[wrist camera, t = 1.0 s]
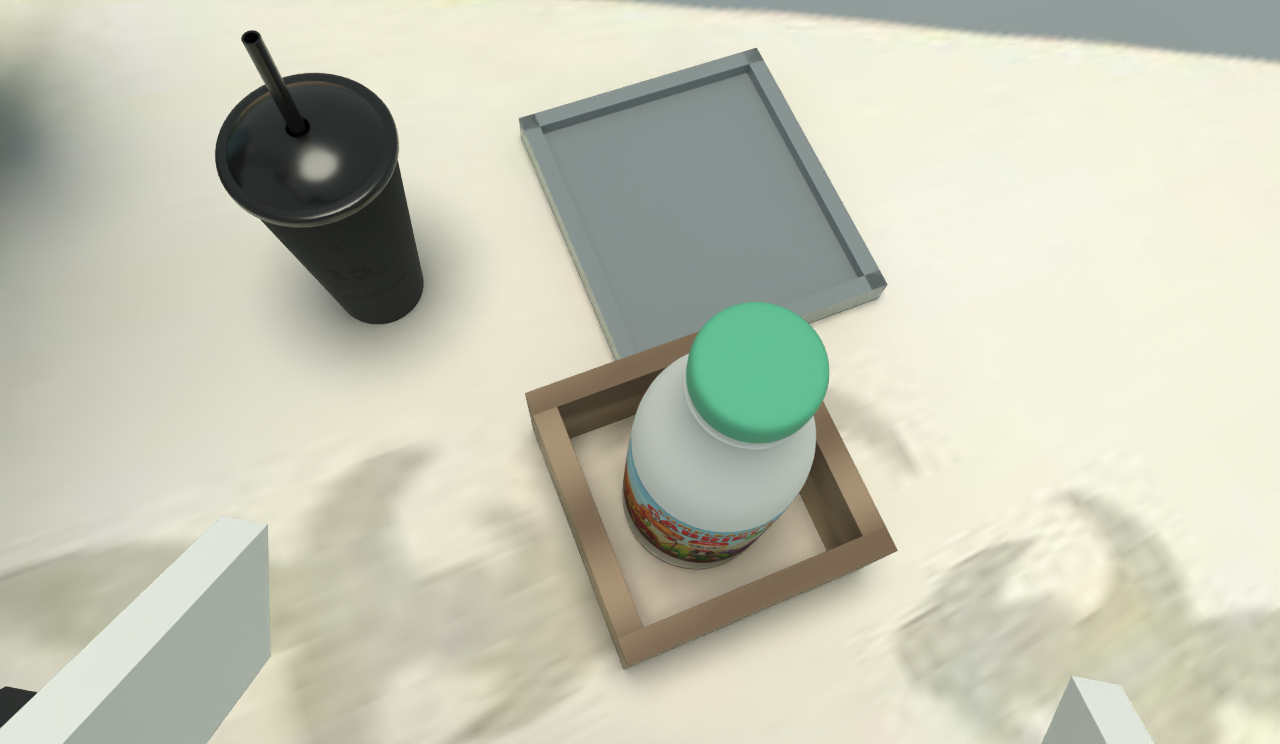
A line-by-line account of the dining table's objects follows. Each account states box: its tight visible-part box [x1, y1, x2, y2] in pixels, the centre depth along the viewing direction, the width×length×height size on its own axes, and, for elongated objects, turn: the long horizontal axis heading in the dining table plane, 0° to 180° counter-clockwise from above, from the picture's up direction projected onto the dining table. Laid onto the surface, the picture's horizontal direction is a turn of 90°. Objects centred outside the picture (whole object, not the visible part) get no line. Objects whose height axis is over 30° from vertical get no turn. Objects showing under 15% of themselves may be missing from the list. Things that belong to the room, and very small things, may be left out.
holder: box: [525, 331, 898, 669], centre depth 43 cm, size 13×13×6 cm
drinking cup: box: [215, 30, 423, 324], centre depth 40 cm, size 8×8×20 cm
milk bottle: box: [623, 302, 829, 569], centre depth 37 cm, size 8×8×20 cm
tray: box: [519, 48, 888, 361], centre depth 51 cm, size 18×16×2 cm
